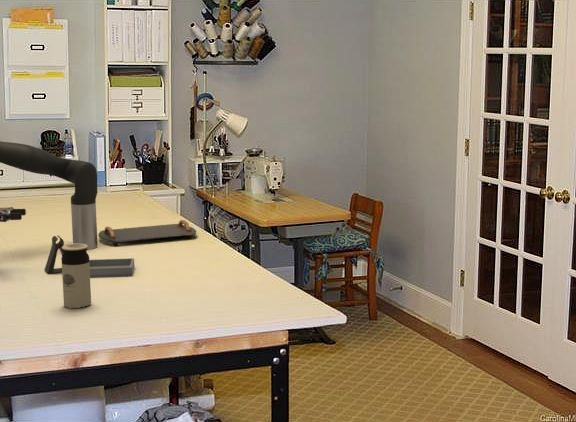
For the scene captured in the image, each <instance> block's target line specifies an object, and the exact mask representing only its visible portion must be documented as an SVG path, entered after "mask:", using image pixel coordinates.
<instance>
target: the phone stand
mask: <svg viewBox="0 0 576 422" xmlns="http://www.w3.org/2000/svg"><path fill="white" fill-rule="evenodd" d="M58 240H59V241H58ZM57 241H58V242H57ZM51 243H52V244H51V247H50V251H49V254H48V257H47V260H46V263H45V267H44V272H46V274H48V275H56V274H62V267H57V268H55V265H56V261H57V256H58V251H60V254H61V256H62V255H63V249H62V246H64V245H65V242H64V239H63V238H62V237H60V235H58V234H57V235H53V236H52V238H51Z"/></svg>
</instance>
